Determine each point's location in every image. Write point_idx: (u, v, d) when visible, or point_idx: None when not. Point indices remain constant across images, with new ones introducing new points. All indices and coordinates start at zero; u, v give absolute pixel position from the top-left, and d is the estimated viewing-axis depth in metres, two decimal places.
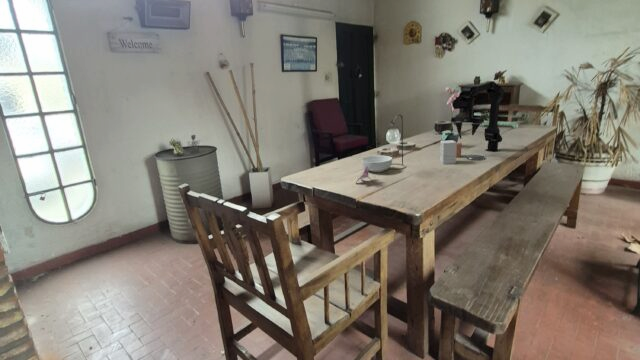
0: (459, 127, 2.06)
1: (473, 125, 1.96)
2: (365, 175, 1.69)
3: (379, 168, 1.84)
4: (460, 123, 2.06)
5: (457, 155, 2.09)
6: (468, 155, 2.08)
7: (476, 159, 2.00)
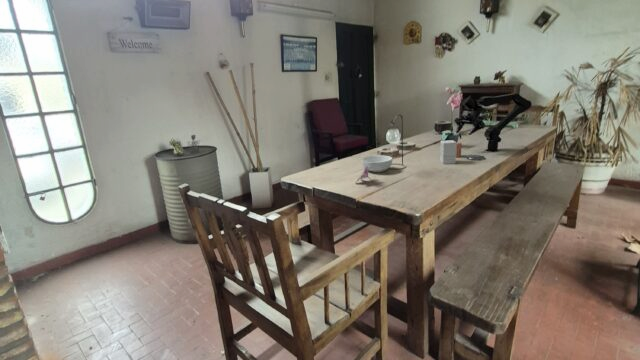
0: (459, 128, 2.15)
1: (474, 125, 2.05)
2: (365, 175, 1.69)
3: (379, 168, 1.84)
4: (461, 126, 2.16)
5: (457, 155, 2.09)
6: (468, 155, 2.08)
7: (476, 159, 2.00)
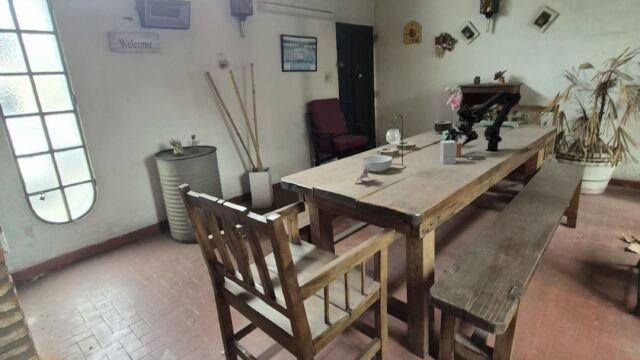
0: (452, 138, 2.13)
1: (467, 135, 2.04)
2: (364, 175, 1.69)
3: (379, 168, 1.84)
4: (454, 136, 2.15)
5: (457, 155, 2.09)
6: (468, 155, 2.08)
7: (476, 159, 2.00)
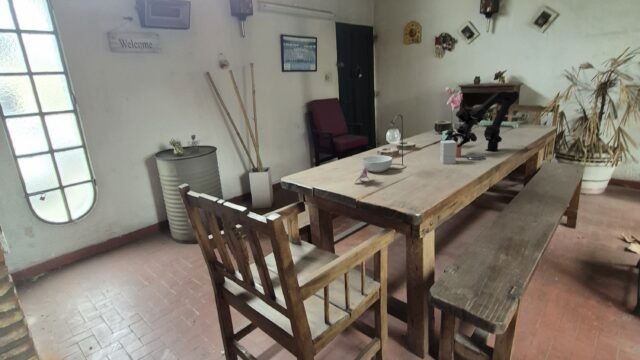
0: (454, 140, 2.11)
1: (463, 137, 2.05)
2: (364, 175, 1.69)
3: (379, 168, 1.84)
4: (456, 138, 2.13)
5: (457, 155, 2.09)
6: (468, 155, 2.08)
7: (476, 159, 2.00)
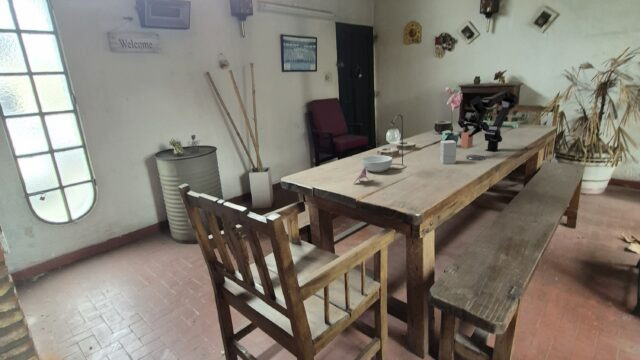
0: (465, 130, 2.06)
1: (475, 126, 2.00)
2: (363, 175, 1.69)
3: (379, 168, 1.84)
4: (467, 128, 2.07)
5: (468, 145, 2.03)
6: (468, 155, 2.08)
7: (476, 159, 2.00)
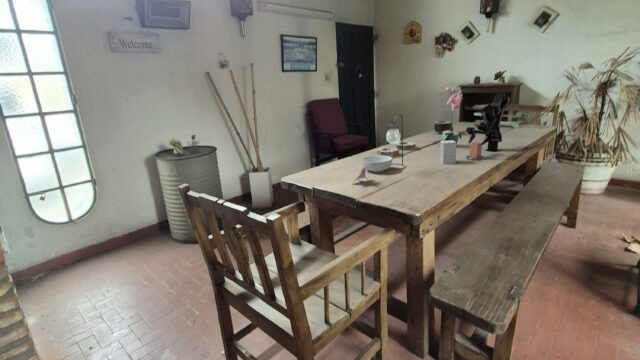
0: (471, 137, 2.05)
1: (487, 134, 1.96)
2: (362, 175, 1.69)
3: (379, 168, 1.84)
4: (473, 135, 2.06)
5: (477, 155, 2.01)
6: (468, 155, 2.08)
7: (476, 159, 2.00)
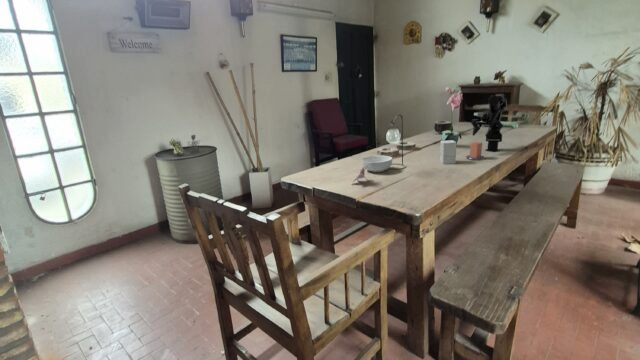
0: (475, 129, 2.07)
1: (491, 125, 1.97)
2: (361, 175, 1.69)
3: (379, 168, 1.84)
4: (478, 127, 2.08)
5: (477, 155, 2.01)
6: (468, 155, 2.08)
7: (476, 159, 2.00)
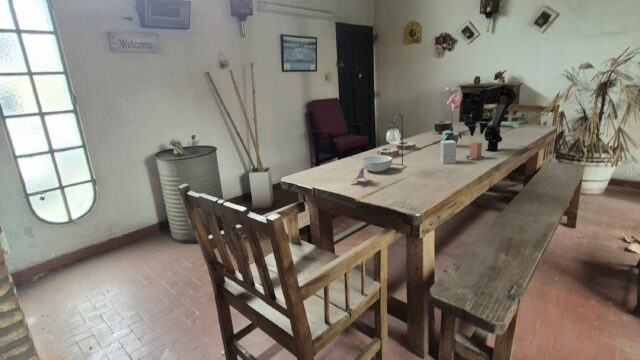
0: (481, 127, 2.13)
1: None
2: (361, 175, 1.69)
3: (379, 168, 1.84)
4: (483, 124, 2.11)
5: (477, 155, 2.01)
6: (468, 155, 2.08)
7: (476, 159, 2.00)
